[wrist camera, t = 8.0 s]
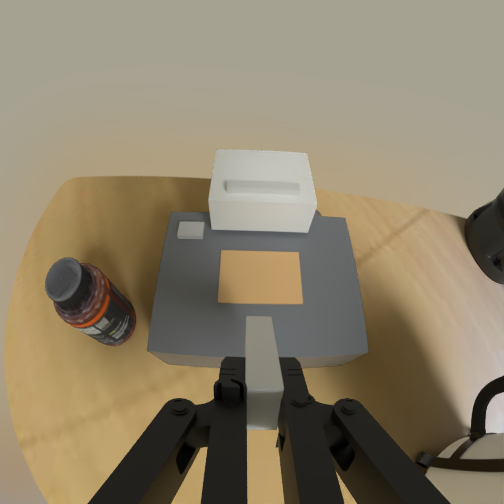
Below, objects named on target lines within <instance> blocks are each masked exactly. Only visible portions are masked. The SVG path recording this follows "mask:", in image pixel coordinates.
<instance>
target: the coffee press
mask: <svg viewBox="0 0 504 504" xmlns="http://www.w3.org/2000/svg"><path fill="white" fill-rule="evenodd" d="M502 392H504V376H502V377H499V378H497V379H495V380H493V381H491V382H490V383H488V384H487V385H486V386H485V387H484V388H483V389H482V390H481V391H480V393H479V394H478V396H477V398H476V400H475V403H474V406H473V411H472V418H471V432H470V433H469V435H468V436H467V437H465V438H462V439H459V440H457V441H455V442H454V443H452V444H451V445H449V446H448V447H447V448H446V449H444V450H443V451H442V452H441V453H440V454H439V456H438V457H436V456H433V455H430V454H427V453H425V452H421V453H420V454H419V455H418V457H417V458H416V459H415V461H414V462H415V463H416V464H418V465H420V466H422V467H424V468H426V469H427V470H428V471H427V472H426V474H425V476H426V477H427V478H428V479H429V480H430V481H431V482H432V484H433V485H434V486H435V487H436V488H437V489H438V490H439V491H440V492H441V493H442V494H443V496H444V497H445V498H446V499H447V500H448V501H449V502H450V503H451V504H504V433H499V434H497V433H486V430H485V419H486V410H487V406H488V404H489V402H490V401H491V399H492V398H493V397H494V396H495V395H496V394H499V393H502Z"/></svg>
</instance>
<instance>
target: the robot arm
mask: <svg viewBox="0 0 504 504" xmlns="http://www.w3.org/2000/svg"><path fill="white" fill-rule="evenodd" d="M465 234H466V239H467V242H468V245H469V248H470V250H471V252H472V254H473V256H474V258H475V260H476V261H477V263H478V264H479V266H480V267H481V269H482V270H483V271H484V272H485V273H486V274H487V275H488V276H489V277H490V278H491V279H492V280H493V281H495V282H497V283H499V284H504V188H503V190H502V191H501V193H500V194H499V195H498V196H497V197H496V199H494V200H493V201H491V202H489V203H487V204H486V205H484V206H482V207H480V208H478V209H477V210H475V211H474V212H473V213H472V214H471V215H470V216H469V217H468V219H467V220H466V223H465ZM277 426H278V428H279V433H278V438H277V443H276V447H279V456H280V465H281V474H282V484H283V493H284V502H285V504H344V500H343V496H342V493H341V489H340V485H339V482H338V478H337V474H336V472H337V473H338V475H339V476H340V478H341V479H342V481H343V483H344V484H345V486H346V487H347V489H348V490H349V492H350V493H351V495H352V496H353V498H354V499H355V501H356V502H357V504H451V503H450V502H449V501H448V500H447V499H446V498H445V497H444V496H443V494H442V493H441V492H440V491H439V490H438V489H437V488H436V487H435V486H434V485H433V484H432V482H431V481H430V480H429V479H428V478H427V477H426V476H425V475H424V474H423V473H422V472H421V470H420V469H419V468H418V467H417V466H416V465H415V464H414V463H413V462H412V460H411V459H410V458H409V457H408V456H407V455H406V454H405V453H404V452H403V450H402V449H401V448H400V447H399V446H398V445H397V444H396V443H395V441H394V440H393V439H392V438H391V437H390V436H389V435H388V434H387V432H386V431H385V430H384V429H383V428H382V427H381V426H380V425H379V423H378V422H377V421H376V420H375V419H374V418H373V417H372V415H371V414H370V413H369V412H368V411H367V410H366V409H365V407H364V406H363V405H362V404H361V403H360V402H358V401H356V400H354V399H349V398H346V399H341V400H339V401H337V402H336V403H335V404H334V405H327V404H322V403H319V402H317V401H315V399H314V397H313V396H311V395H310V394H309V392H308V389H307V385H306V382H305V378H304V375H303V371H302V368H301V364H300V362H299V361H298V360H297V359H296V358H295V357H278V351H277V346H276V340H275V334H274V329H273V323H272V318H271V317H266V316H246V334H245V357H230V356H226V357H225V358H224V359H223V360H222V361H221V367H220V375H219V380H218V381H216V382H215V384H214V399H213V400H212V401H210V402H208V403H205V404H199V405H194V404H193V403H192V402H191V401H189V400H187V399H183V398H176V399H172V400H170V401H168V402H167V403H166V404H165V405H164V406H163V407H162V409H161V410H160V411H159V413H158V414H157V415H156V417H155V418H154V419H153V421H152V422H151V423H150V425H149V426H148V427H147V428H146V430H145V431H144V432H143V434H142V435H141V436H140V438H139V439H138V440H137V442H136V443H135V444H134V445H133V447H132V448H131V449H130V451H129V452H128V453H127V455H126V456H125V457H124V458H123V460H122V461H121V462H120V464H119V465H118V466H117V467H116V469H115V470H114V471H113V472H112V474H111V475H110V476H109V478H108V479H107V480H106V481H105V483H104V484H103V485H102V486H101V488H100V489H99V490H98V491H97V493H96V494H95V495H94V496H93V498H92V499H91V500H90V501H89V503H88V504H171V502H172V500H173V499H174V497H175V495H176V493H177V491H178V490H179V488H180V486H181V484H182V482H183V480H184V479H185V477H186V475H187V473H188V471H189V469H190V467H191V465H192V464H193V462H194V460H195V458H196V456H197V454H198V452H199V450H200V448H202V447H208V449H207V457H206V465H205V473H204V481H203V489H202V498H201V504H247V430H277ZM335 470H336V471H335Z"/></svg>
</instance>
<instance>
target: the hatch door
mask: <svg viewBox="0 0 504 504" xmlns="http://www.w3.org/2000/svg"><path fill="white" fill-rule="evenodd" d="M208 203H209V211H210V219H211V227H212V230H244V231H276V232H303V233H308V231H309V228H310V225H311V222H312V219H313V216H314V213H315V210H316V207H317V200H316V195H315V190H314V185H313V180H312V175H311V171H310V167H309V162H308V157H307V153H295V152H281V151H263V150H261V151H260V150H228V149H219V150H218V149H217V150H216V155H215V161H214V167H213V173H212V179H211V185H210V192H209V199H208Z"/></svg>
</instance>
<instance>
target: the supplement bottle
mask: <svg viewBox="0 0 504 504" xmlns="http://www.w3.org/2000/svg"><path fill="white" fill-rule="evenodd" d="M45 289H46V292H47V295H48V296H49V297H50V298H51V299H52V300H53V302H54V306H55V310H56V312H57V313H58V315H59V316H60V317H61V318H62V319H63V320H64V321H65V322H67V323H68V324H70V325H71V326H73V327H75V328H76V329H78V330H80V331H82V332H83V333H85V334H87V335H89V336H90V337H92V338H94V339H96V340H97V341H99V342H101V343H103V344H106V345H111V346H112V345H113V346H114V345H119V344H121V343H123V342H125V341H126V340H127V339H128V338H129V337H130V336H131V335H132V333H133V331H134V328H135V324H136V315H135V311H134V308H133V307H132V305H131V304H130V302H129V301H128V300H127V299H126V298H125V297H124V296H123V295H122V294H121V293H120V292H119V291H118V289H117V288H116V287H115V286H114V285H113V284H112V283H111V282H110V281H109V280H108V279H107V277H106V276H105V275H104V274H103V273H102V272H101V271H100V270H99V269H98V268H97V267H95V266H93V265H91V264H87V263H79V262H78V261H77V260H75V259H73V258H63V259H60V260H59V261H57V262H56V263H55V264H54V265H53V266H52V267H51V268H50V270H49V272H48V274H47V277H46V281H45Z"/></svg>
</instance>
